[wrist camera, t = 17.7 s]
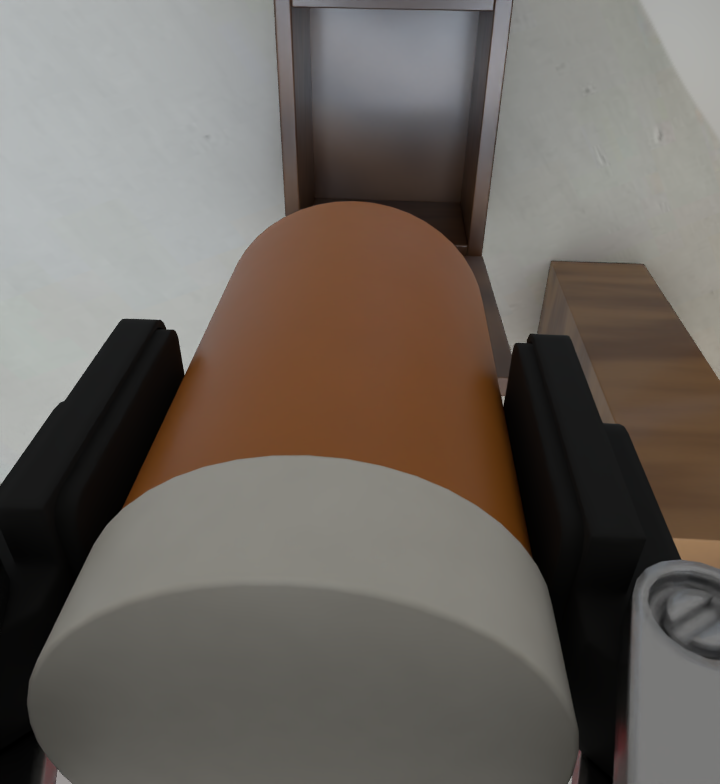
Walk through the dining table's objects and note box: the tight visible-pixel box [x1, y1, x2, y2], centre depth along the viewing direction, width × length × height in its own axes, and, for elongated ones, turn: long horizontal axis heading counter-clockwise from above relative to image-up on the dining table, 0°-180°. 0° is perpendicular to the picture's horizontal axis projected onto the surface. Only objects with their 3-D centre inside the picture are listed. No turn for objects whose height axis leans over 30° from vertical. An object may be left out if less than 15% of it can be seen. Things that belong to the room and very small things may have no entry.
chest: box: [274, 0, 513, 256], centre depth 36 cm, size 13×11×7 cm
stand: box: [537, 261, 720, 569], centre depth 36 cm, size 6×6×24 cm
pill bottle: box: [27, 201, 579, 784], centre depth 10 cm, size 5×5×8 cm
